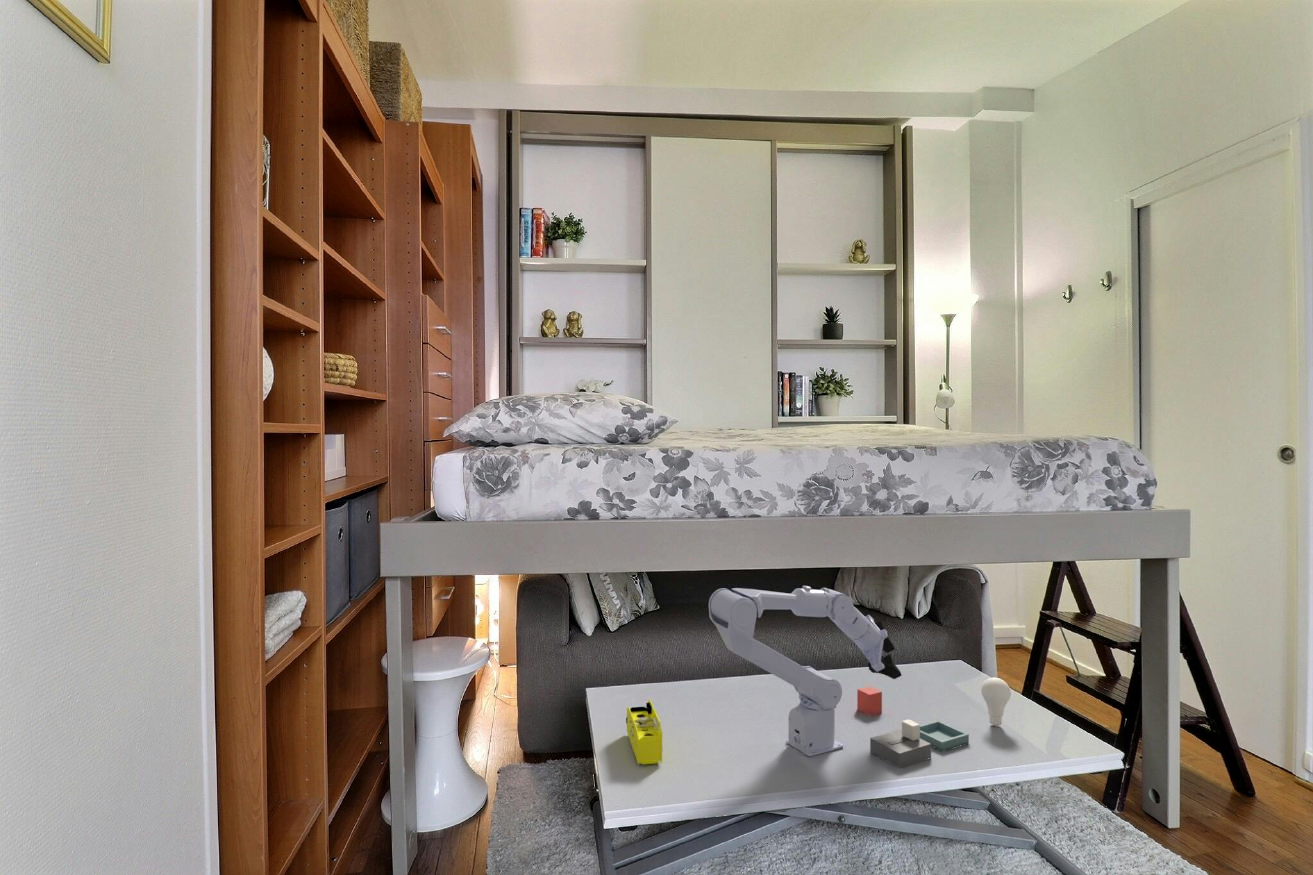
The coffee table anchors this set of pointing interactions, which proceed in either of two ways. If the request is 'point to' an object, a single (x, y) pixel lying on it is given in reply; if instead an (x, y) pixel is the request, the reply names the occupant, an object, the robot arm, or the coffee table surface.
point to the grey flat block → (899, 749)
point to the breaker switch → (911, 729)
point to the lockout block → (869, 700)
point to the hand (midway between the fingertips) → (894, 662)
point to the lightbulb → (995, 698)
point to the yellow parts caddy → (645, 733)
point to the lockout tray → (942, 735)
